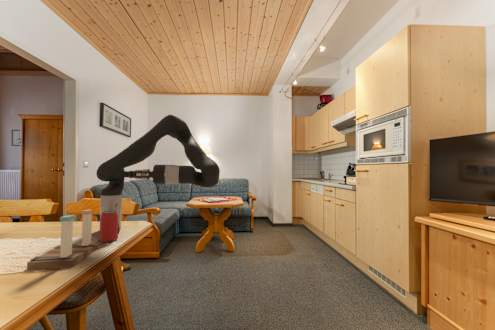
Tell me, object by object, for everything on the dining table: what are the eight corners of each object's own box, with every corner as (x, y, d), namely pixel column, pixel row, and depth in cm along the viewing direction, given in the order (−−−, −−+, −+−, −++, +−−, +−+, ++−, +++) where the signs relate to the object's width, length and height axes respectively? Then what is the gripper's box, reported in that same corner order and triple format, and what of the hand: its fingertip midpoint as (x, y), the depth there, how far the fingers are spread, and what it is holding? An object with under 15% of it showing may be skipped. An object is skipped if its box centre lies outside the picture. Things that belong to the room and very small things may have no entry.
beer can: (109, 243, 97) (110, 213, 97) (95, 241, 98) (96, 212, 99) (121, 238, 103) (121, 210, 104) (108, 237, 105) (108, 210, 105)
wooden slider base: (61, 250, 88) (61, 243, 88) (97, 248, 90) (98, 241, 90) (27, 269, 70) (27, 261, 70) (73, 266, 72) (73, 258, 72)
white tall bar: (85, 243, 88) (86, 209, 88) (92, 242, 88) (93, 209, 89) (80, 246, 84) (81, 211, 85) (87, 245, 85) (88, 211, 85)
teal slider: (65, 254, 76) (66, 215, 76) (73, 253, 76) (74, 215, 77) (58, 258, 72) (59, 217, 73) (67, 257, 73) (68, 217, 73)
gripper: (169, 165, 99) (124, 164, 96) (164, 164, 86) (112, 163, 83) (169, 183, 98) (124, 183, 95) (164, 185, 85) (111, 185, 82)
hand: (118, 174), depth 89 cm, fingers closed
